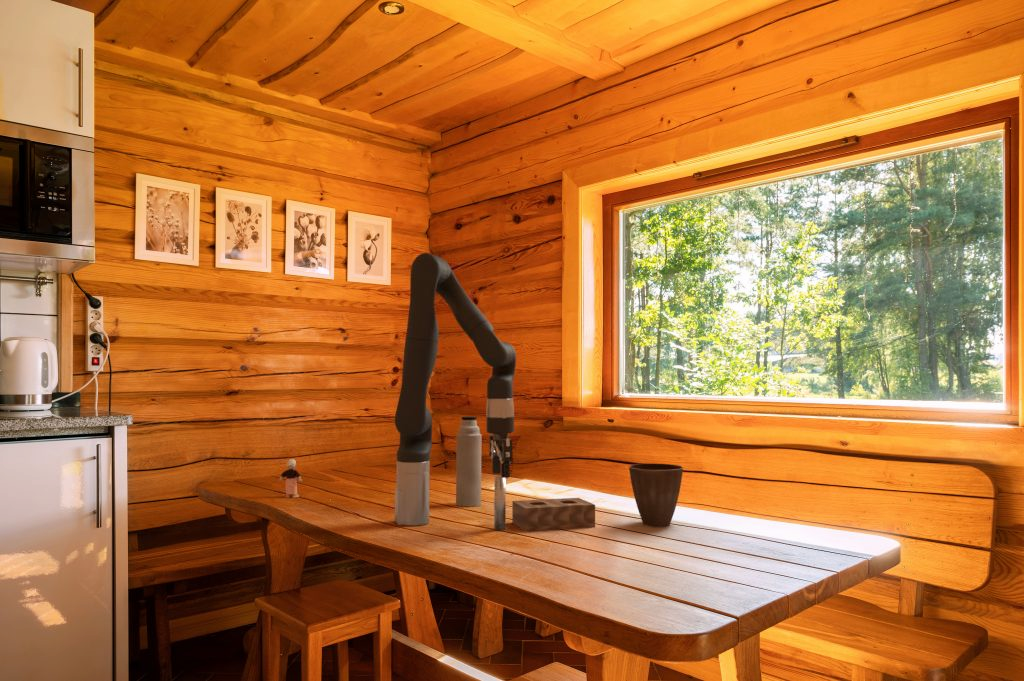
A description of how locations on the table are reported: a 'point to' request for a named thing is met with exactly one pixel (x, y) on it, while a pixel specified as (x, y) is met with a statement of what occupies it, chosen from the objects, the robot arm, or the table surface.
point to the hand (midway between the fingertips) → (500, 475)
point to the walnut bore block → (553, 514)
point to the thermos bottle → (468, 463)
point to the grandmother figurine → (291, 479)
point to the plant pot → (656, 491)
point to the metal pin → (500, 503)
